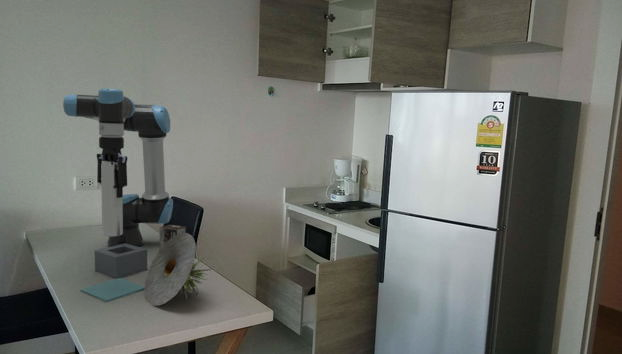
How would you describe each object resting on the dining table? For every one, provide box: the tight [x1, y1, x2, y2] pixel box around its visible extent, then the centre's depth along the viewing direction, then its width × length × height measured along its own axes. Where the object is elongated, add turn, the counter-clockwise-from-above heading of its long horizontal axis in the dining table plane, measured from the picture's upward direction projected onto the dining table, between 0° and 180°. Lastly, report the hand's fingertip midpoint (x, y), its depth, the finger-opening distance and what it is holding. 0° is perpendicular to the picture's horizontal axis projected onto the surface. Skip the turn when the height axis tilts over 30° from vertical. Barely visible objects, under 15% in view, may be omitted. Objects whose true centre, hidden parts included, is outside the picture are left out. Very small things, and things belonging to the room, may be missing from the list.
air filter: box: [100, 161, 123, 238], centre depth 155 cm, size 6×6×25 cm
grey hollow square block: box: [94, 244, 148, 279], centre depth 179 cm, size 14×14×8 cm
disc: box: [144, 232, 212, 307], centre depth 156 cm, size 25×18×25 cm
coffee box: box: [159, 224, 188, 250], centre depth 186 cm, size 9×6×16 cm
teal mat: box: [80, 277, 145, 303], centre depth 159 cm, size 15×15×1 cm
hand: (112, 205), depth 156 cm, fingers closed on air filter, 6 cm apart
